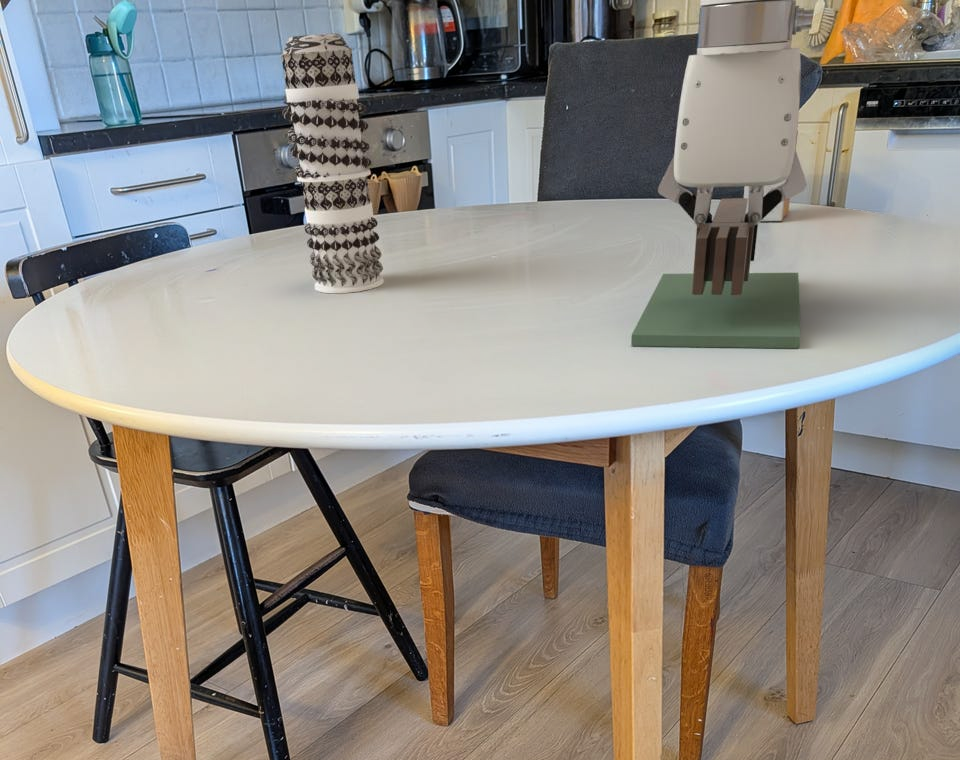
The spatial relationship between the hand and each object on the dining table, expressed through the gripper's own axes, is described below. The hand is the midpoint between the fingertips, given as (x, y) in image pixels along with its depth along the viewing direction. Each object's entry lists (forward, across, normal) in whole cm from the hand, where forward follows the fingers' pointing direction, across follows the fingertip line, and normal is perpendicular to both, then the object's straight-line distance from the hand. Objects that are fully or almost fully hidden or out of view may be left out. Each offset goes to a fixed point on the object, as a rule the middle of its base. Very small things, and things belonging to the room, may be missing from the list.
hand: (723, 267), depth 82 cm
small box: (+4, -3, -53) cm, 53 cm away
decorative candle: (+5, +44, -12) cm, 46 cm away
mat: (+4, 0, -1) cm, 4 cm away
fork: (0, 0, -1) cm, 1 cm away
